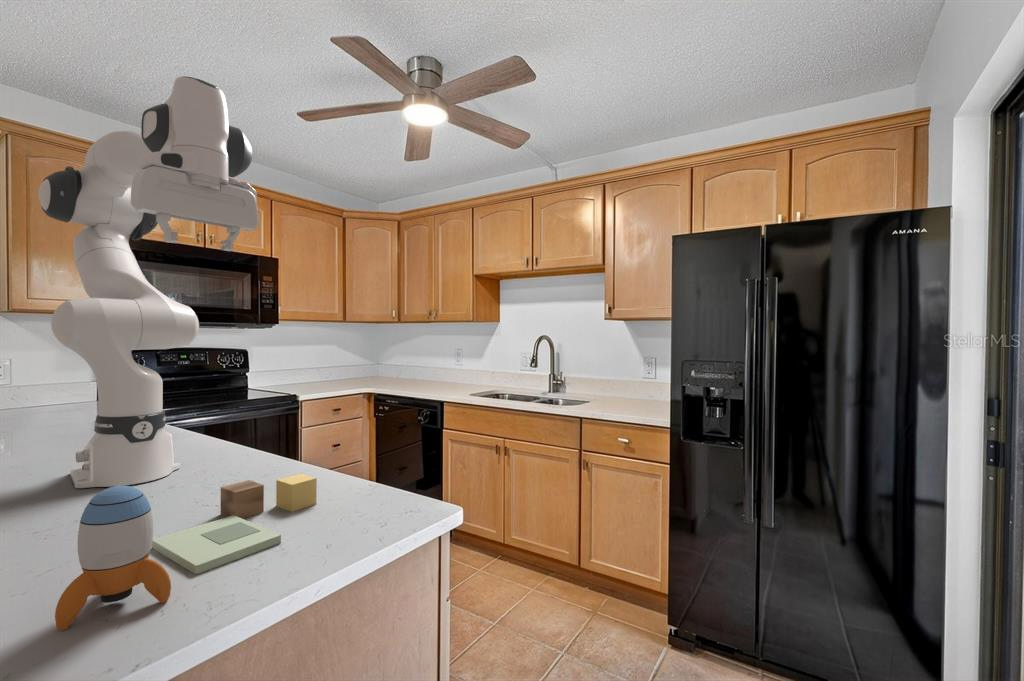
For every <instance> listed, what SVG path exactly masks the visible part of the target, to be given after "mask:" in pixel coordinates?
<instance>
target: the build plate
mask: <svg viewBox="0 0 1024 681" xmlns="http://www.w3.org/2000/svg"><path fill="white" fill-rule="evenodd" d="M281 543H282V535H281V534H280V533H278V532H275V531H272V530H271V529H270V530H269V529H268V528H265V527H263V526H260V525H259V524H256V523H253V522H251V521H249V520H246V519H245V518H243V519H242V518H239V517H237V516H235V515H233V516H229V517H222V518H220V519H216V520H213V521H210V522H206V523H203V524H199V525H197V526H194V527H189V528H186V529H183V530H180V531H176V532H174V533H170V534H167V535H163V536H159V537H156V538H153V540H152V546H151V549H152V550H154V551H156V552H158V553H159V554H161V555H162V556H164V557H166V558H168V559H169V560H171V561H173V562H174V563H175V564H178V565H179V566H181V567H183V568H184V569H186V570H188V571H189V572H191V573H192V574H194V575H199V574H202V573H204V572H207V571H210V570H212V569H215V568H218V567H221V566H223V565H225V564H229V563H230V562H233V561H237V560H239V559H241V558H244V557H247V556H250V555H252V554H254V553H258V552H260V551H263V550H265V549H268V548H270V547H273V546H277V545H278V544H281Z"/></svg>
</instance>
